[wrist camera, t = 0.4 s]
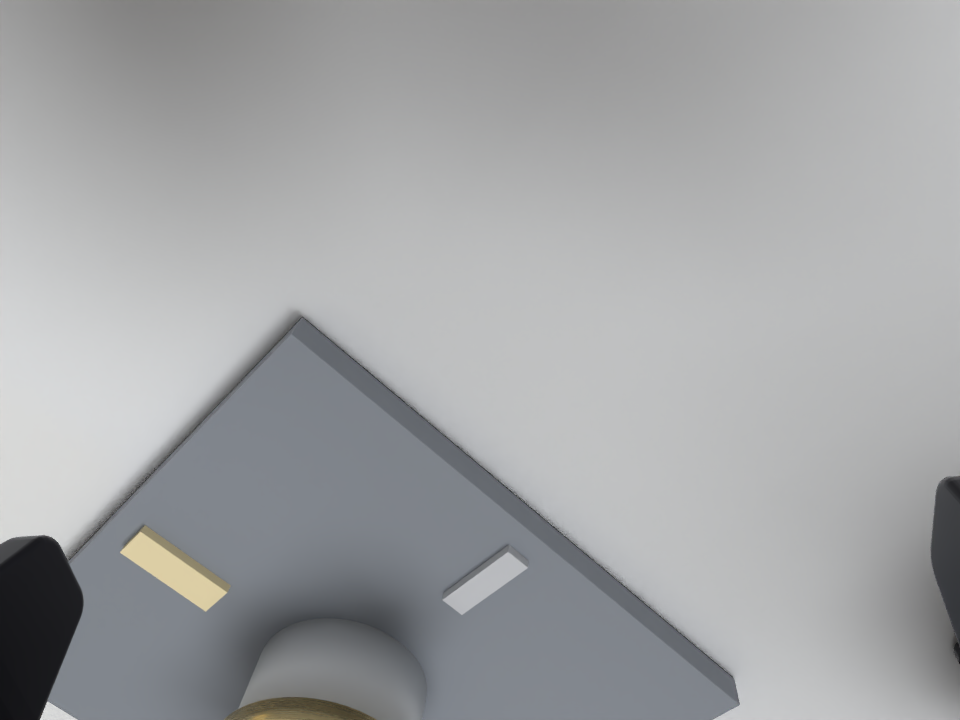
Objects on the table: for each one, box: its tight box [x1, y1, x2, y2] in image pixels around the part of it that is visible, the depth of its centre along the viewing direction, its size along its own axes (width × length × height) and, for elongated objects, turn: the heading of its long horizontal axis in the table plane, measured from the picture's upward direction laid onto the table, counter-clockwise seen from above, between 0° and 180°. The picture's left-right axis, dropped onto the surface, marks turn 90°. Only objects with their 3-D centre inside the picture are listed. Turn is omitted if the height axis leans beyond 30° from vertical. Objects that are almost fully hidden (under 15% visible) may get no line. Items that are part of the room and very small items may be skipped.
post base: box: [47, 317, 740, 720], centre depth 26 cm, size 18×18×4 cm
